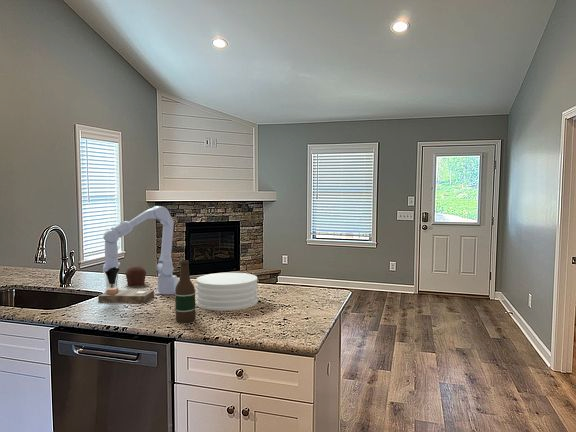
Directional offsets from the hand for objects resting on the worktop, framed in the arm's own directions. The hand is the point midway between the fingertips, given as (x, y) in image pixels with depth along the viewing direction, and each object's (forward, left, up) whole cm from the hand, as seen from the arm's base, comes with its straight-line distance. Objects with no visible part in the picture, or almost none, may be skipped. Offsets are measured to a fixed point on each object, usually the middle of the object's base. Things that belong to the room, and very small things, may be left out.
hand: (112, 283), depth 209 cm
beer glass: (+7, -14, -8) cm, 17 cm away
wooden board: (-7, 0, -7) cm, 10 cm away
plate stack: (-56, +4, -8) cm, 57 cm away
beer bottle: (-45, +33, -8) cm, 56 cm away
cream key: (-14, 0, -7) cm, 16 cm away
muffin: (+2, -33, -8) cm, 34 cm away
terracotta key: (0, 0, -5) cm, 5 cm away
